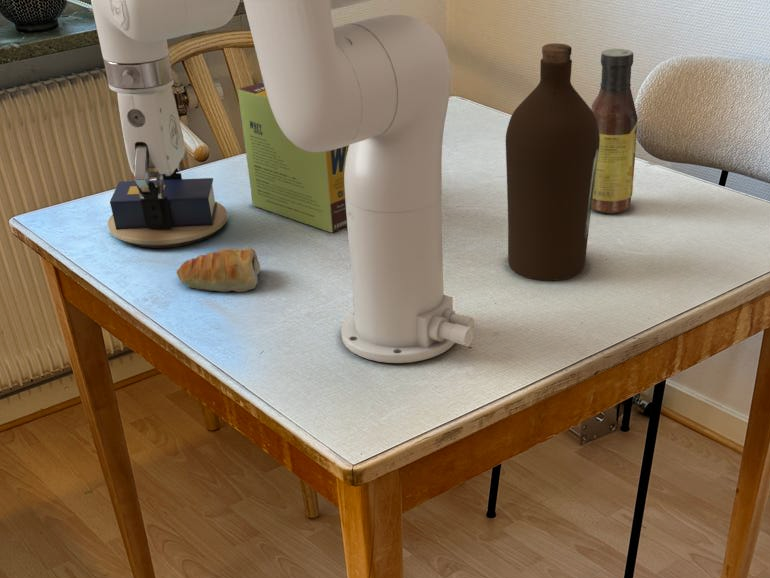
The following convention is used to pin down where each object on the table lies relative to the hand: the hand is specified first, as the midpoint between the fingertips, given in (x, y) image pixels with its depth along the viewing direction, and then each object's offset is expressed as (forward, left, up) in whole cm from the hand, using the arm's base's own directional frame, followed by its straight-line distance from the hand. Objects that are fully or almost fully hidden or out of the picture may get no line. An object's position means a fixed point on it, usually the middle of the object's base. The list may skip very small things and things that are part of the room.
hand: (166, 214), depth 130 cm
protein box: (-13, -15, -2) cm, 20 cm away
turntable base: (0, 0, -2) cm, 2 cm away
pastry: (-17, +9, -2) cm, 19 cm away
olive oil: (-48, -14, -2) cm, 50 cm away
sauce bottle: (-47, -35, -2) cm, 59 cm away
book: (0, 0, -2) cm, 2 cm away
